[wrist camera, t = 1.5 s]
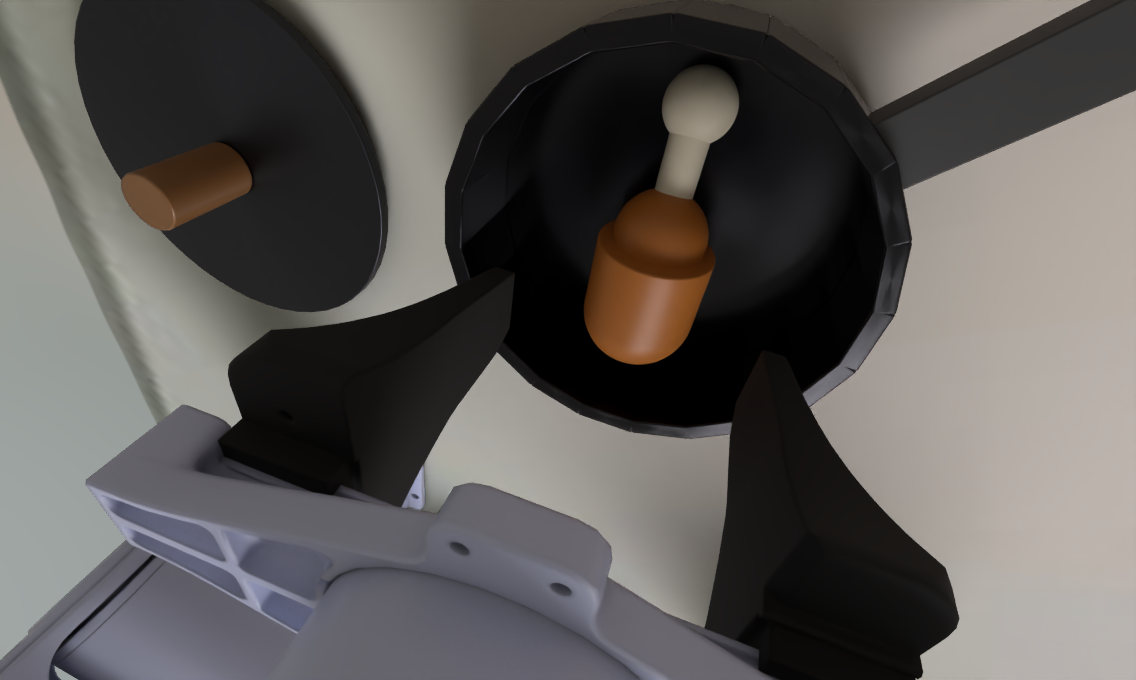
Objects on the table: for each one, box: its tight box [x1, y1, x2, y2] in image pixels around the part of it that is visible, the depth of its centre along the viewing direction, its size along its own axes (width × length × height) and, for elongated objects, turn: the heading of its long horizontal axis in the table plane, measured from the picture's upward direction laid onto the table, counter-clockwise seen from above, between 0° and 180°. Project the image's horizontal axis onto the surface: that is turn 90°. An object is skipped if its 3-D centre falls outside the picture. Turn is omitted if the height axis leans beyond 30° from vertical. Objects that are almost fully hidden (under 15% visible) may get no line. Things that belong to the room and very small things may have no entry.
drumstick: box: [584, 64, 739, 365], centre depth 17 cm, size 10×4×4 cm, turn 171°
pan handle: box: [869, 0, 1136, 189], centre depth 11 cm, size 9×2×1 cm, turn 126°
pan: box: [445, 0, 912, 439], centre depth 17 cm, size 13×13×4 cm
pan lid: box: [74, 0, 388, 312], centre depth 21 cm, size 14×14×5 cm
